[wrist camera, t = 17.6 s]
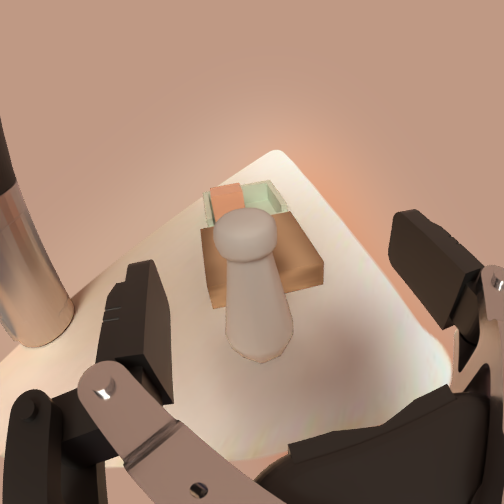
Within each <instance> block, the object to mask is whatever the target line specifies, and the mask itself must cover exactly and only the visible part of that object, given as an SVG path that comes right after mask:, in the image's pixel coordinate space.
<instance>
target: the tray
mask: <svg viewBox="0 0 504 504" xmlns="http://www.w3.org/2000/svg"><path fill="white" fill-rule="evenodd" d="M240 186H241V189H242V191H243V197H244V204H245V208H258V209H261V210H264V211H266V212H267V213H269V214H270V215H274V214H279V213H284V212H288V210H287V203H286V202H285V200H284V199H283V198H282V196H281V195H280V193H279V192H278V191H277V189H276V188H275V186H274V185H273V184H272V182H271V181H270V180H267V181H261V182H256V183H250V184H245V185H240ZM203 199H204V206H205V213H206V219H207V224H208V228H209V227H214V225H215V218H214V213H213V207H212V202H211V194H210V191H209V192H205V193H203Z"/></svg>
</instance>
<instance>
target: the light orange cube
mask: <svg viewBox="0 0 504 504" xmlns="http://www.w3.org/2000/svg"><path fill="white" fill-rule="evenodd" d="M210 192H211V199H212V205H213V210H214V215H215V220H216V222H217V221H218V219H219V218H221V217H222V216H223V215H224V214H226V213H228V212H230V211H232V210H235V209H241V208H245V204H244V197H243V191H242V189H241V186H240V184H239V183H235V184H230V185H224V186H219V187H214V188H210Z"/></svg>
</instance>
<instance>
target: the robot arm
mask: <svg viewBox="0 0 504 504" xmlns="http://www.w3.org/2000/svg"><path fill="white" fill-rule="evenodd" d="M388 256H389V260H390V263H391V265H392V267H393V268H394V269H395V270H396V271H397V273H398V274H399V275H400V276H401V278H402V279H403V280H404V281H405V283H406V284H407V285H408V286H409V287H410V289H411V290H412V291H413V293H414V294H415V295H416V296H417V297H418V299H419V300H420V301H421V303H422V304H423V305H424V306H425V308H426V309H427V310H428V312H429V313H430V314H431V316H432V317H433V318H434V320H435V321H436V322H437V324H438V325H439V326H440V328H441V329H442V330H444V329H446V328H449V327H451V326H453V325H455V326H456V327H457V329H456V331H455V334H454V355H453V373H452V381H451V385H450V388H449V386H448V385H447V384H446V385H444V386H442V387H440V388H438V389H436V390H434V391H432V392H430V393H428V394H426V395H424V396H421V397H419V398H417V399H415V400H414V401H413V402H411V403H410V404H409V405H408V406H406V407H405V408H404V409H403V410H401V411H400V412H399V413H398V414H396V415H395V416H394V417H392V418H391V419H390V420H388V421H387V422H386V423H384V424H383V425H380V426H376V427H368V428H360V429H351V430H341V431H332V432H329V433H326V434H323V435H320V436H316V437H313V438H309V439H306V440H302V441H298V442H295V443H291V444H288V454H287V455H285V456H284V457H282V458H280V459H278V460H277V461H275V462H274V463H272V464H271V465H269V466H268V467H267V468H266V469H265V470H263V471H262V472H261V473H260V474H259V475H258V476H257V477H256V478H255V479H254V480H251V479H250V478H249V477H247V476H246V475H245V474H243V473H242V472H241V471H240V470H238V469H237V468H236V467H234V466H233V465H232V464H231V463H229V462H228V461H227V460H226V459H224V458H223V457H222V456H221V455H219V454H218V453H217V452H216V451H215V450H213V449H212V448H211V447H210V446H209V445H207V444H206V443H205V442H204V441H203V440H202V439H201V438H199V437H198V436H197V435H196V434H195V433H194V432H193V431H191V430H190V429H189V428H188V427H187V426H186V425H185V424H183V423H182V422H181V421H179V420H176V419H174V418H173V417H172V416H171V415H170V414H169V413H168V412H167V411H166V410H165V409H164V408H163V405H167V404H174V398H173V381H172V360H171V327H170V309H169V304H168V300H167V297H166V294H165V291H164V288H163V286H162V283H161V280H160V277H159V274H158V272H157V269H156V266H155V263H154V261H153V260H147V261H142V262H137V263H132V264H129V265H128V268H127V274H126V279H125V282H121V283H116V284H115V286H114V287H113V289H112V290H111V292H110V293H109V295H108V297H107V301H106V306H105V312H104V316H103V323H102V327H101V332H100V338H99V344H98V350H97V356H96V362H95V364H94V365H93V366H91V367H90V368H88V369H87V370H86V371H85V372H84V373H83V375H82V376H81V378H80V380H79V383H78V388H76V389H74V390H72V391H69V392H67V393H64V394H62V395H59V396H57V397H54V398H52V399H50V398H49V397H48V396H47V395H46V394H45V393H44V392H43V391H41V390H37V389H33V390H29V391H26V392H24V393H23V394H21V395H20V396H19V397H18V398H17V400H16V401H15V402H14V404H13V406H12V409H11V413H10V419H9V426H8V433H7V441H6V449H5V460H4V473H3V504H108V500H107V489H106V476H105V461H106V460H109V459H111V458H114V457H117V456H120V457H121V458H122V460H123V461H124V464H123V465H124V468H125V469H126V471H127V472H128V474H129V475H130V476H131V477H132V478H133V480H134V481H135V482H136V483H137V484H138V485H139V487H140V488H141V489H142V490H143V491H144V492H145V493H146V494H147V495H148V497H149V498H150V499H151V500H152V501H153V502H154V503H155V504H504V268H502V267H499V266H495V265H489V266H486V267H484V266H483V265H482V264H481V263H480V262H479V261H478V260H477V259H476V258H475V257H474V256H473V255H472V254H471V253H470V252H469V251H468V250H467V249H466V248H465V247H463V246H462V245H461V244H459V242H458V241H457V240H456V239H455V238H454V237H451V235H450V234H449V233H448V232H447V231H446V230H444V229H443V228H442V227H441V226H439V225H437V224H435V223H433V222H431V221H430V220H429V219H427V218H426V217H425V216H424V215H423V214H422V213H420V212H419V211H418V210H416V209H413V210H407V211H402V212H397V213H396V214H395V215H394V217H393V223H392V230H391V236H390V243H389V248H388ZM73 314H74V306H73V303H72V301H71V299H70V298H69V296H68V294H67V292H66V290H65V288H64V287H63V285H62V283H61V281H60V279H59V277H58V275H57V273H56V271H55V269H54V267H53V265H52V263H51V261H50V259H49V257H48V255H47V253H46V250H45V248H44V246H43V244H42V242H41V240H40V238H39V235H38V233H37V230H36V228H35V226H34V223H33V221H32V219H31V216H30V214H29V211H28V209H27V206H26V204H25V201H24V199H23V196H22V193H21V191H20V188H19V185H18V182H17V180H16V177H15V174H14V171H13V167H12V164H11V160H10V156H9V152H8V148H7V144H6V140H5V137H4V133H3V128H2V123H1V119H0V323H1V324H2V326H3V327H4V328H5V330H6V331H7V332H8V334H9V335H10V337H11V338H12V339H13V341H19V342H20V343H21V344H22V345H24V346H26V347H32V348H33V347H39V346H43V345H45V344H47V343H49V342H51V341H53V340H54V339H55V338H57V337H58V336H59V335H60V334H61V333H62V332H63V331H64V330H65V329H66V328H67V326H68V325H69V323H70V322H71V320H72V317H73Z"/></svg>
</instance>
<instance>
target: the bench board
mask: <svg viewBox="0 0 504 504" xmlns="http://www.w3.org/2000/svg"><path fill="white" fill-rule="evenodd" d="M271 216H272V217H273V218H274V219H275V222H276V226H277V245H276V247H275V248H274V250H273V251H272V253H273V257H274V260H275V263H276V267H277V270H278V273H279V276H280V280H281V283H282V286H283V290H284V293H288V292H292V291H297V290H301V289H305V288H309V287H313V286H317V285H322V284H323V273H324V261H323V260H322V258H321V257H320V255H319V254H318V252H317V251H316V249H315V248H314V246H313V245H312V243H311V242H310V240H309V239H308V237H307V236H306V234H305V233H304V231H303V230H302V228H301V227H300V225H299V224H298V222H297V221H296V219H295V218H294V216H293V215H292V213H291V212H290V211H289V212H284V213H279V214H274V215H271ZM213 229H214V227H209V228H204V229H200V230H201V239H202V248H203V257H204V265H205V273H206V281H207V288H208V292H209V295H210V299H211V303H212V306H213V309H215V308H220V307H225V306H226V295H227V259H225V258H223V257H222V256H221V255H220V253H219V251H218V250H217V248H216V246H215V243H214V240H213Z"/></svg>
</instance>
